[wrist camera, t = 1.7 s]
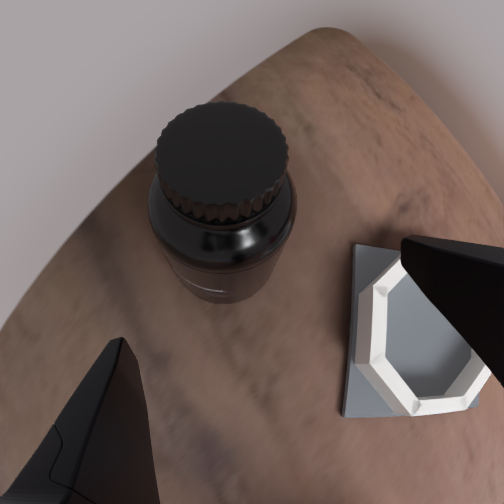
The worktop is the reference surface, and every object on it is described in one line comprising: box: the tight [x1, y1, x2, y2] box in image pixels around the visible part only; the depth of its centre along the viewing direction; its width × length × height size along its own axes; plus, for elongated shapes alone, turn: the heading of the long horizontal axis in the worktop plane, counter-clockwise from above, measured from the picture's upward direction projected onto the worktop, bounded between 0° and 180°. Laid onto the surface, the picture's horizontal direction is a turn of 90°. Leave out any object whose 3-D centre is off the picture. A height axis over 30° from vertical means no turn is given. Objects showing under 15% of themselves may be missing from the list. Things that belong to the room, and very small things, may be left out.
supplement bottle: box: [148, 101, 297, 304], centre depth 16 cm, size 7×7×12 cm
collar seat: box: [341, 244, 492, 418], centre depth 19 cm, size 12×12×3 cm
